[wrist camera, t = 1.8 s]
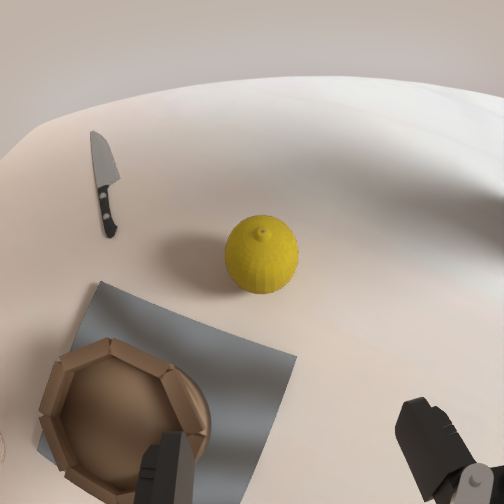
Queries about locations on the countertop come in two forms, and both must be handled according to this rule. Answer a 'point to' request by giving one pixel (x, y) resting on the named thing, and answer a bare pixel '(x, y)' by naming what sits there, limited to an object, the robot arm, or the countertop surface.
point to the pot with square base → (159, 399)
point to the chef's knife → (104, 177)
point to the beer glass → (1, 450)
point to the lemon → (261, 254)
